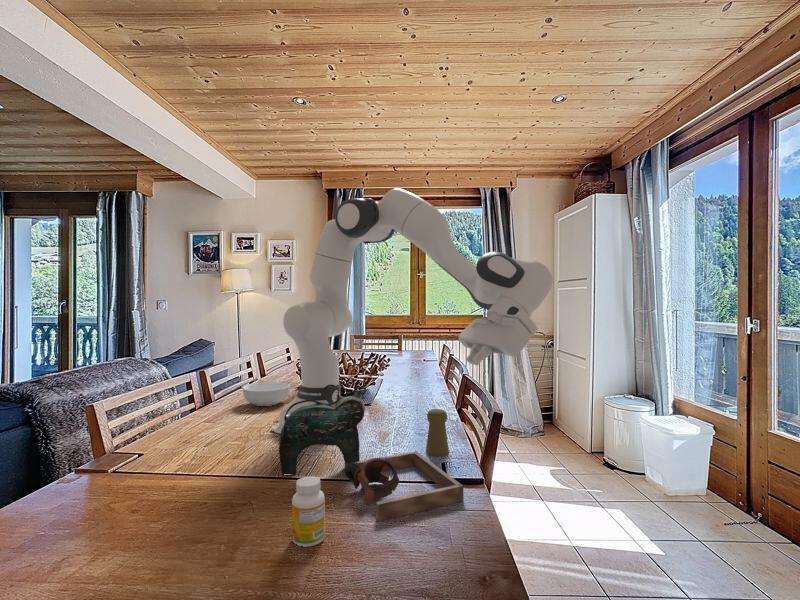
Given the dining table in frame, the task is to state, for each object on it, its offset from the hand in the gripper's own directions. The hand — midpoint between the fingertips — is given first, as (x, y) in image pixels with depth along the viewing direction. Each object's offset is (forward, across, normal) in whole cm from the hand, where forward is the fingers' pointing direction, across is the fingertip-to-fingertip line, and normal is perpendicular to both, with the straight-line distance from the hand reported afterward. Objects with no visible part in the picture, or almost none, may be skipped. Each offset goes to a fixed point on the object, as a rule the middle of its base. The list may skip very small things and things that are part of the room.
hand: (471, 362), depth 98 cm
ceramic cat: (+40, -16, -4) cm, 43 cm away
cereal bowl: (+42, -86, -7) cm, 96 cm away
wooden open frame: (+31, 0, +5) cm, 31 cm away
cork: (+18, -15, +17) cm, 30 cm away
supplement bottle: (+46, +11, -10) cm, 48 cm away
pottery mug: (+35, -1, +1) cm, 35 cm away
